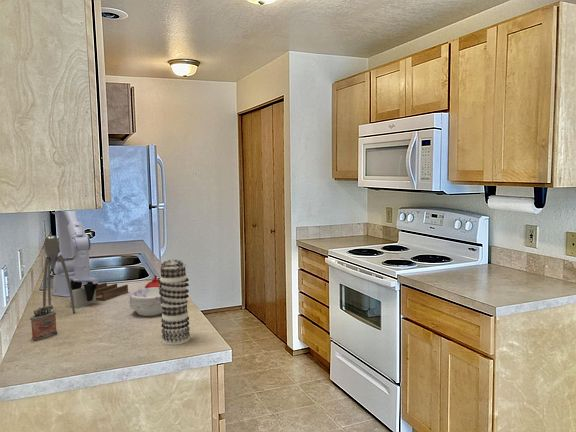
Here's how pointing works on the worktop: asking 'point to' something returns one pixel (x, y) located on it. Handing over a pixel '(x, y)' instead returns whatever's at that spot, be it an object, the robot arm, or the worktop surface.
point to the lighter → (43, 323)
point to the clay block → (81, 297)
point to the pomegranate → (153, 283)
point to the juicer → (52, 257)
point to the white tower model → (174, 302)
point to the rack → (109, 291)
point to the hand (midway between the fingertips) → (84, 300)
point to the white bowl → (146, 301)
